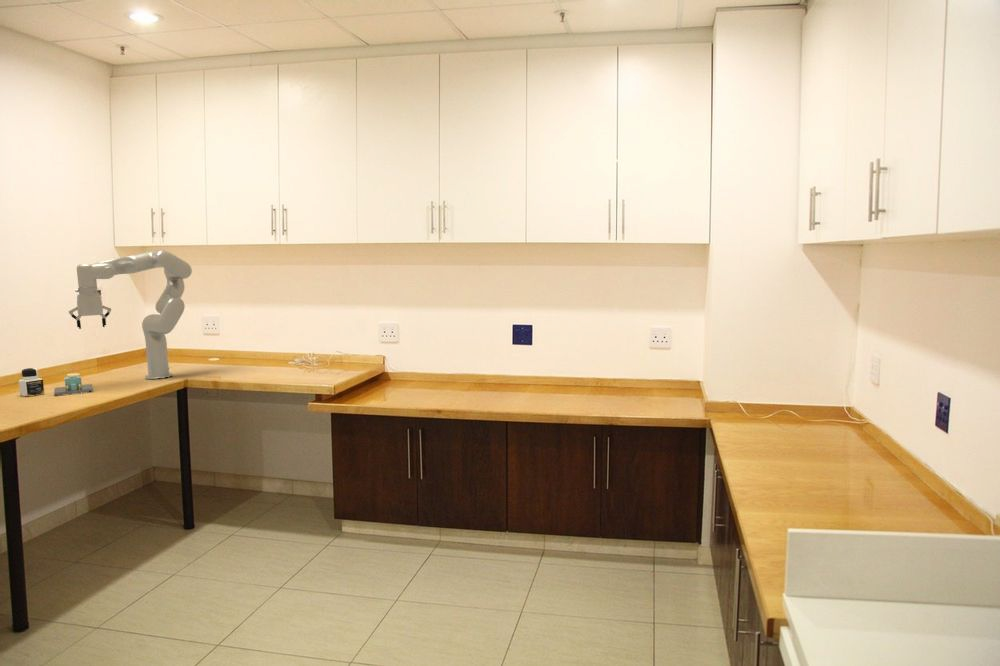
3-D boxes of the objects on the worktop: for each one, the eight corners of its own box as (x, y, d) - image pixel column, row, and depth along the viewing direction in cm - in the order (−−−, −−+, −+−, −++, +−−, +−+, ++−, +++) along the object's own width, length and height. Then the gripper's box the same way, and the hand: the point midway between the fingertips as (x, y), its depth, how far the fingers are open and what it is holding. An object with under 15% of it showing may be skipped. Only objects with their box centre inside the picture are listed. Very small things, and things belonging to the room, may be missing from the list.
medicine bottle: (27, 397, 322) (24, 370, 321) (19, 395, 326) (16, 369, 325) (44, 394, 328) (42, 367, 327) (36, 392, 332) (33, 366, 331)
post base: (54, 391, 335) (53, 378, 335) (92, 387, 343) (90, 374, 342) (54, 396, 322) (53, 382, 322) (93, 391, 330) (92, 378, 329)
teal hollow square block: (65, 388, 334) (64, 377, 333) (81, 386, 337) (80, 375, 336) (65, 391, 326) (64, 380, 325) (82, 389, 329) (81, 378, 328)
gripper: (66, 292, 328) (70, 330, 330) (109, 290, 337) (113, 326, 339) (66, 291, 335) (70, 328, 337) (109, 289, 344) (112, 325, 346)
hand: (92, 327), depth 338 cm, fingers open, 9 cm apart
